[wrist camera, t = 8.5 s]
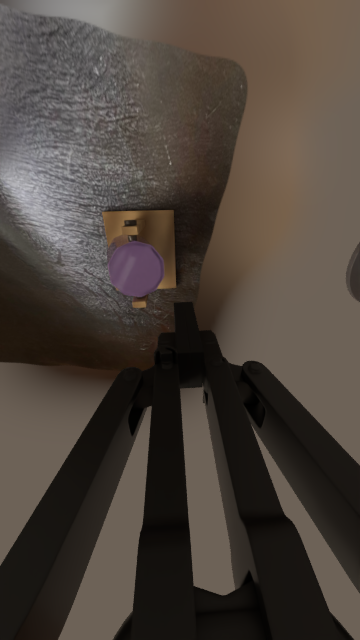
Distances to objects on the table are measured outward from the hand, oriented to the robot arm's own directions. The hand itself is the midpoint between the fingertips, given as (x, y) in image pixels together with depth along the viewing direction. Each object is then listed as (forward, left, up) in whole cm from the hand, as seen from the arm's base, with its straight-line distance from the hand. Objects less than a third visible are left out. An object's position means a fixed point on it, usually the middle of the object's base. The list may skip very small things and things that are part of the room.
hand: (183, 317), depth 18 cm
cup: (+5, 0, -14) cm, 15 cm away
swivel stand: (+6, 0, -26) cm, 26 cm away
